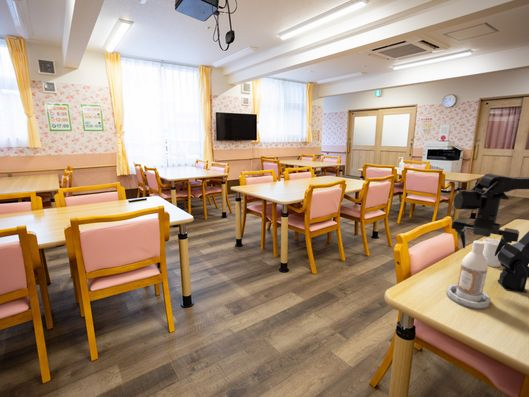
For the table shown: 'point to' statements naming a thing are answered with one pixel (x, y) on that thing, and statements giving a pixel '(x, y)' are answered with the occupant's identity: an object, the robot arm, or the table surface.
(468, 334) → the table surface
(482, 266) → the bath foam
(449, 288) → the round grey tray
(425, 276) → the table surface
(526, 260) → the robot arm
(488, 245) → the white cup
